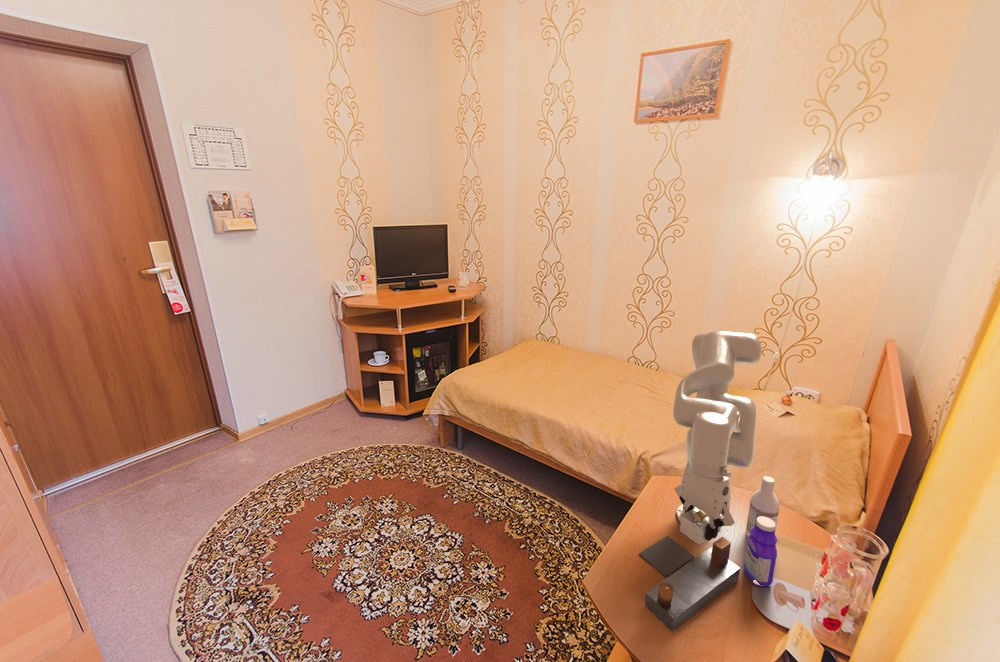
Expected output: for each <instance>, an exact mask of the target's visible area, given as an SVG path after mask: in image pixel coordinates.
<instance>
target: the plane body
mask: <svg viewBox="0 0 1000 662" xmlns="http://www.w3.org/2000/svg"><path fill="white" fill-rule="evenodd" d="M731 545H732V542H731V541H730V540H728V539H727V538H725V537H724V536H721V537H719V538H718V539H717V540H715V541H713V542H712V545H711V547H709V548H708V549H707V550H705V551H704V552H702V553H701V554H699V555H698V556H696V557H695V558H693V559H692V560H691V561H689V562H688V563H686V564H685V565H683V566H682V567H680V568H679V569H677V570H676V571H675V572H673V573H672V574H670V575H669V576H667V577H665V578H664V579H663V580H662V581H660V582H658V583H657V584H656V585H655V586H653V587H651V588H650V589H649V590H647V591H645V592H644V593H645V595H644V607H645V608H647V609H648V610H649V611H650V613H652V614H653V615H654V616H655V617H656V618H657V619H658V620H659V621H660V622H661V624H663V625H664V626H665V627H666V628H667V629H668V630H669V631H670V632H671V633H674V631H676V630H678V628H680V627H681V626H682V625H684V624H685V623H686V622H687V621H690V619H691V618H693V617H694V616H695V615H696V614H697V613H699V612H700V611H702V610H703V609H704V608H705V607H706V606H708V605H709V604H710V603H711V602H713V601H714V600H715V599H717V597H719V596H720V595H722V594H723V593H724V592H725V591H726V590H728V589H729V588H730V587H732V586H733V585H734V584H735V583H736V582H738V581H739V579H740V571H741V567H740V566H738V565H737V564H735V563H734V562H733V561H731V560H730V553H731Z"/></svg>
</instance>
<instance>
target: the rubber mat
mask: <svg viewBox="0 0 1000 662" xmlns="http://www.w3.org/2000/svg"><path fill="white" fill-rule="evenodd" d="M638 555H639V556H641V558H643V559H644V560H645V561H646V562H647V563H649V565H651V566H652V567H653V568H654V569H655V570H656V571H658V572H659V573H660V574H661V575H662V576H664V578H667V577H669V576H670V575H672V574H673V573H675V572H676V571H678V570H679V569H680V568H682V567H683V566H685V565H686V564H688V563H689V562H691V561H692V560H694V559H695V558H696V557H695V555H694V554H693V553H691V551H689V550H687V549H686V548H685V547H683V546H682V545H681V544H679V543H678V542H677V541H675V540H674V539H673V538H671V537H670V536H668V535H666V536H665V537H663V538H662V539H659V540H658V541H657V542H655V543H653V544H652V545H650V546H648V547H646V548H645V549H643V550H641V551H640V552H639V553H638Z"/></svg>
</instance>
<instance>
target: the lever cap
mask: <svg viewBox="0 0 1000 662" xmlns="http://www.w3.org/2000/svg"><path fill="white" fill-rule="evenodd" d="M720 516H721V517H723V515H722V514H721V515H720ZM708 525H710V524H709V519H708V515H707V514H705V513H704V512H702V511H701V510H699V509H698V508H696V507H695V508H693V509H691V510H690V511H688V512H686V513H685V514H683V515H681V522H680V525H679V531H680V532H681V533H682V534H683V535H685V536H686V537H687V538H689V539H690V540H692V541H693V542H695V543H696V544H697V545H701V544H702V543H704V542H705V541H707V540H706V532H707V526H708ZM720 530H721V528H720V527H718V532H720Z"/></svg>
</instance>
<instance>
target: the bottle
mask: <svg viewBox="0 0 1000 662" xmlns="http://www.w3.org/2000/svg"><path fill="white" fill-rule="evenodd" d="M775 526H776V527H777V525H775V522H774V521H773V520H771V519H770V518H767V517H764V516H760V517H757V520H756V525H755V527H754V528H753V529H752V530H751V535H749V537H747V543H746V549H745V556H744V561H743V568H744V569H743V570H744V573H745V574H746V576H747V578H748V580H749V581H750V582H751V583H753V580H756V581H757V582H758V583H759V584H760V585H766V586H765V587H770V586H771V585H772V584H773V581H774V576H775V575H774V574H775V568H776V562H777V556H778V550H777V545H776V544H777V542H778V538H777V535H776V531H775ZM769 585H770V586H769Z"/></svg>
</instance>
